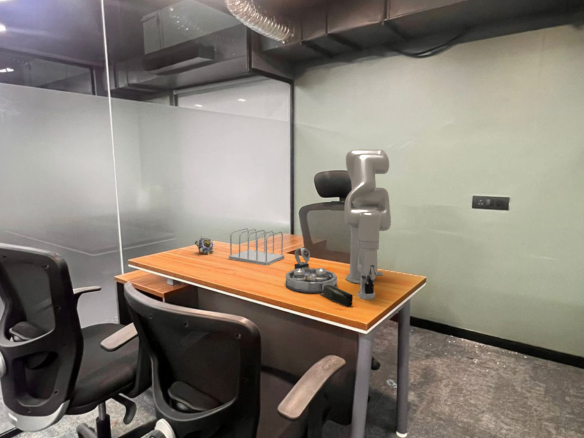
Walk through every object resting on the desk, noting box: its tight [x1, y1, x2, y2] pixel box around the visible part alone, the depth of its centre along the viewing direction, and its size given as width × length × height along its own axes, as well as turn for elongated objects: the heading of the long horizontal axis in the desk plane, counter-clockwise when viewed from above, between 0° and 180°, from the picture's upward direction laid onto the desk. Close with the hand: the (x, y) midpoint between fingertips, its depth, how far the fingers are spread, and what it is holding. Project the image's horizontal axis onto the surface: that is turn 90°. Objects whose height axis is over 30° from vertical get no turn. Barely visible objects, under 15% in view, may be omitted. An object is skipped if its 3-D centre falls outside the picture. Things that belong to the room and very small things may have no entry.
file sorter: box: [228, 227, 285, 266], centre depth 189 cm, size 25×17×16 cm
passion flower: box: [194, 236, 216, 255], centre depth 202 cm, size 11×11×12 cm
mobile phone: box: [319, 285, 354, 307], centre depth 129 cm, size 5×3×15 cm
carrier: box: [285, 267, 338, 295], centre depth 146 cm, size 22×22×6 cm
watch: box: [294, 247, 311, 269], centre depth 168 cm, size 6×8×11 cm
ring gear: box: [285, 267, 338, 291], centre depth 146 cm, size 21×21×3 cm
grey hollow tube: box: [357, 276, 376, 301], centre depth 133 cm, size 6×6×8 cm
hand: (366, 290), depth 133 cm, fingers closed on grey hollow tube, 4 cm apart
